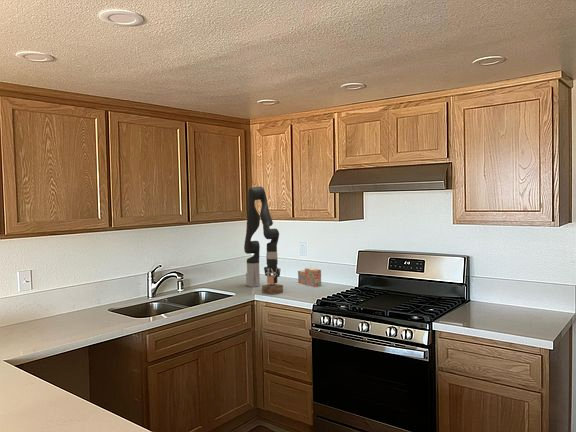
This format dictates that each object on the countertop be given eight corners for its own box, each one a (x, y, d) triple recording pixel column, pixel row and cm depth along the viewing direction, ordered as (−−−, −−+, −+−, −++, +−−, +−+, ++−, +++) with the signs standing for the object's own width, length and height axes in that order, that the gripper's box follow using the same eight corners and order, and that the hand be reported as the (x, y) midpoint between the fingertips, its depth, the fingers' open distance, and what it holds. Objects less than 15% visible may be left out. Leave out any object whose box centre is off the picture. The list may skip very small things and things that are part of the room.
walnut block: (262, 292, 332) (262, 285, 332) (272, 290, 339) (272, 283, 339) (272, 294, 325) (272, 287, 325) (283, 292, 333) (282, 285, 332)
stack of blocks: (298, 283, 367) (297, 266, 367) (304, 282, 371) (304, 266, 370) (314, 287, 349) (314, 270, 349) (321, 286, 353) (321, 269, 352)
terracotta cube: (267, 283, 332) (267, 276, 332) (272, 282, 335) (272, 275, 335) (272, 284, 328) (272, 276, 328) (277, 283, 332) (277, 275, 332)
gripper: (260, 257, 333) (261, 282, 334) (275, 259, 324) (276, 284, 324) (268, 256, 339) (268, 280, 340) (283, 258, 329) (283, 283, 330)
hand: (272, 282), depth 332 cm, fingers closed on terracotta cube, 5 cm apart
